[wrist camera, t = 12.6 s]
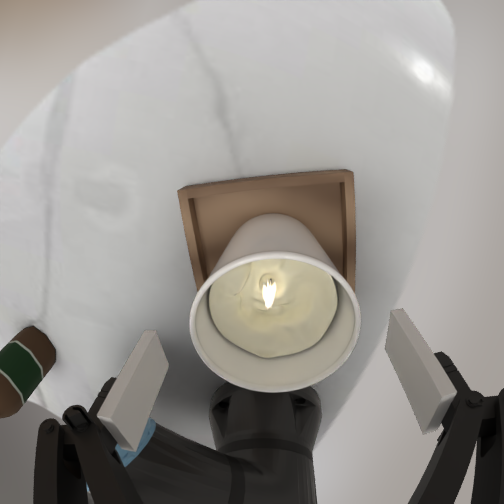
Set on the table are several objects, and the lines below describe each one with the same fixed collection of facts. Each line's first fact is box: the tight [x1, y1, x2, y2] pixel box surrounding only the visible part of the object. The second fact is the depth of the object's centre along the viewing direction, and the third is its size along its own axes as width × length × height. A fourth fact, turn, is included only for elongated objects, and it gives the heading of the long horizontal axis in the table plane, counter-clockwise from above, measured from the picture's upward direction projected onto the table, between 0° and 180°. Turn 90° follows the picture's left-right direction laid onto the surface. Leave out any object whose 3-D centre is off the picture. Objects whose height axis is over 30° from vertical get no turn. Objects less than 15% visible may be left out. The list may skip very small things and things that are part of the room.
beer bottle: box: [0, 326, 56, 418], centre depth 24 cm, size 8×8×24 cm
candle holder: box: [189, 213, 361, 392], centre depth 21 cm, size 10×10×12 cm
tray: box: [177, 169, 356, 293], centre depth 26 cm, size 15×15×2 cm
